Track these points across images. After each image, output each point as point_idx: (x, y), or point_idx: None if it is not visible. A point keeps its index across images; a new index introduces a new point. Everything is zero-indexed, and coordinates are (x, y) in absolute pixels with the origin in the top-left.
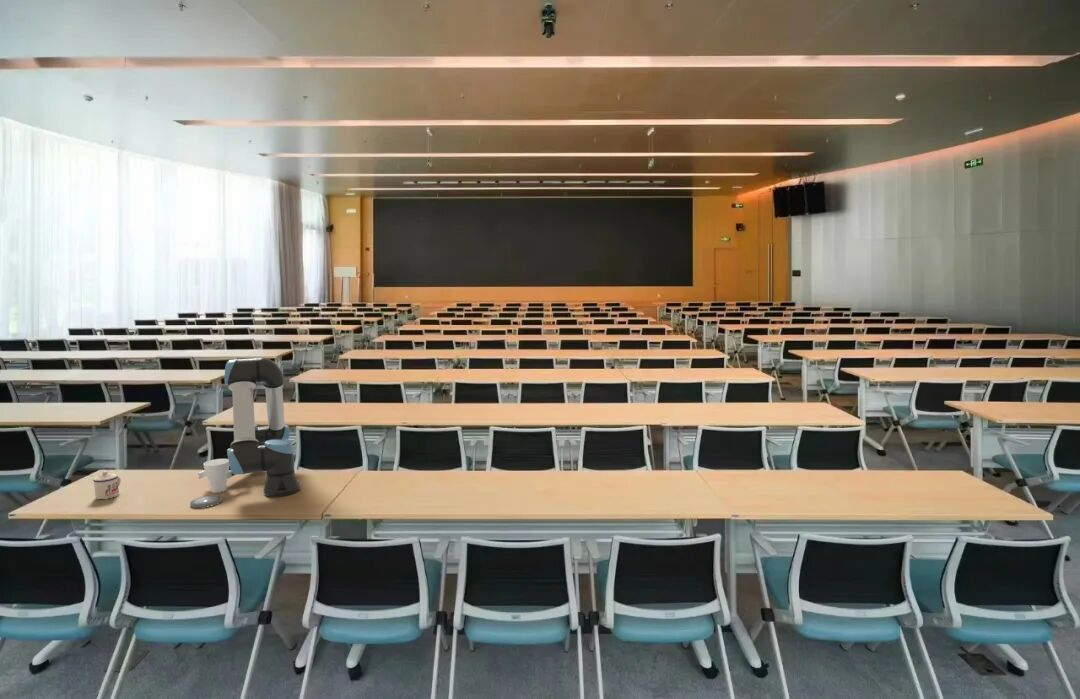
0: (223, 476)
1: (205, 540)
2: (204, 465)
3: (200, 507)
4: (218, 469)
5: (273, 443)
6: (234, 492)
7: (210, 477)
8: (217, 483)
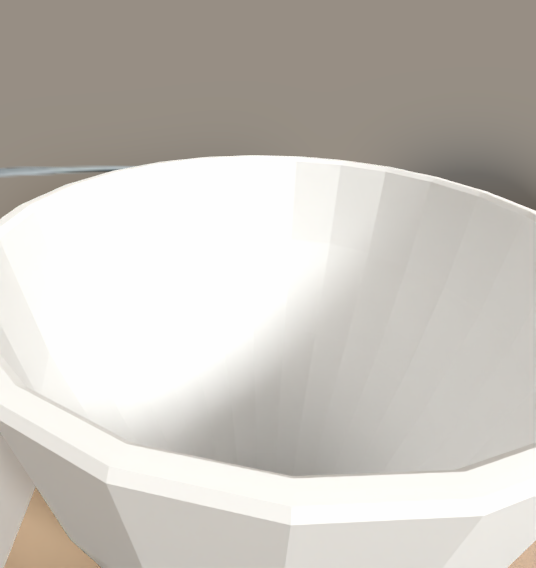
0: (135, 400)
1: (20, 173)
2: (371, 176)
3: None
4: (153, 244)
5: None
6: (31, 543)
7: (275, 327)
8: (215, 421)
